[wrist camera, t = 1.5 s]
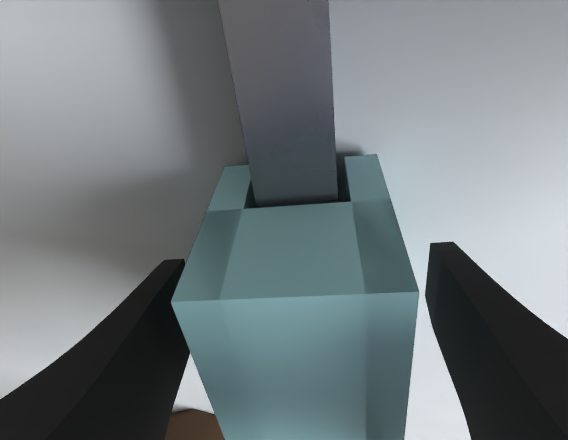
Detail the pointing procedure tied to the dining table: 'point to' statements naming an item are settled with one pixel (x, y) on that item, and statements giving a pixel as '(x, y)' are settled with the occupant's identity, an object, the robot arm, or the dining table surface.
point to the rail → (284, 97)
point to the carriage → (302, 312)
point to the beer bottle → (193, 426)
